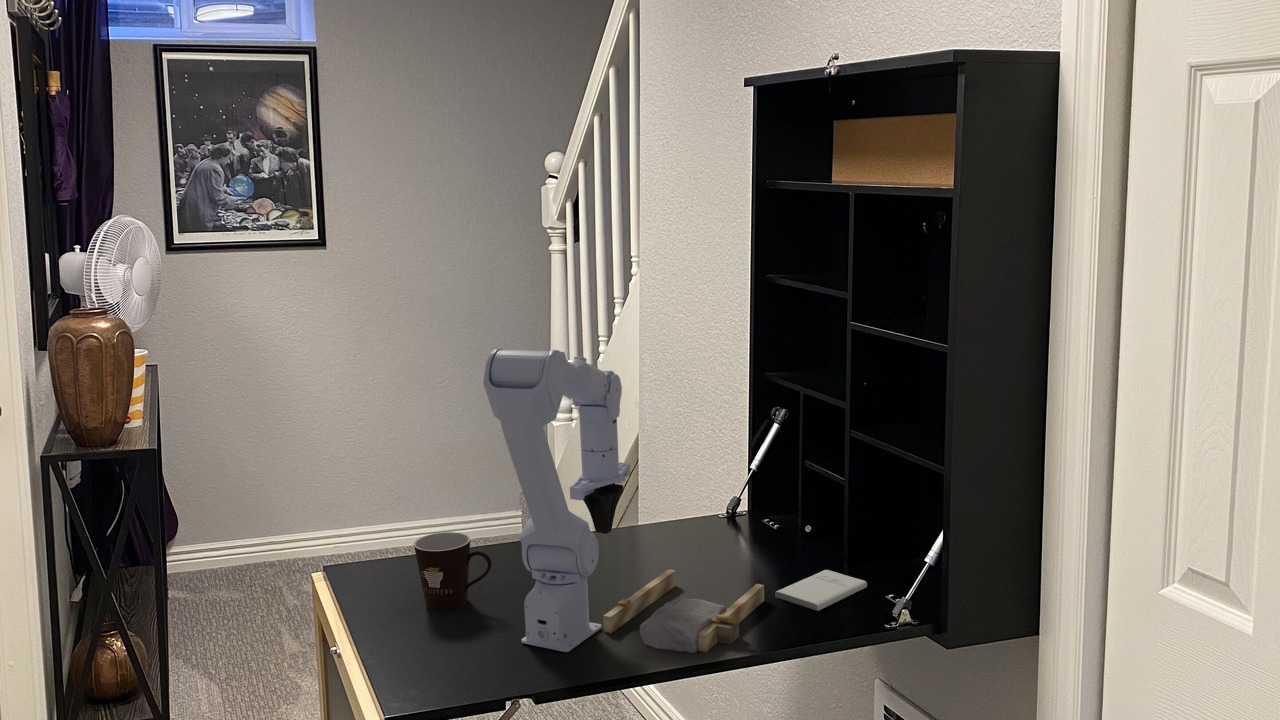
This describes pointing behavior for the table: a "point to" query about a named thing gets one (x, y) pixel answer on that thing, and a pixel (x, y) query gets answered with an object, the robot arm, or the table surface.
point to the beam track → (716, 632)
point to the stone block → (679, 624)
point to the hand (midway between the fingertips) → (603, 531)
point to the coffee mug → (446, 569)
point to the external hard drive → (821, 589)
